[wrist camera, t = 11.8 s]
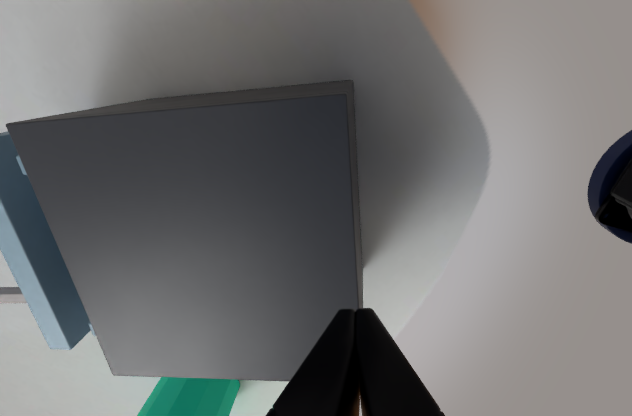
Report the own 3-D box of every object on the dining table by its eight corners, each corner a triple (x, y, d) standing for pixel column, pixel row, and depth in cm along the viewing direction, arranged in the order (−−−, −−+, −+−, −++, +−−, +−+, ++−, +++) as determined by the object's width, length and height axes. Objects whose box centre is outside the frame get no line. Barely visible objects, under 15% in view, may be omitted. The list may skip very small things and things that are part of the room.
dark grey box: (194, 272, 24) (112, 376, 16) (147, 99, 20) (4, 123, 12) (362, 270, 22) (363, 384, 14) (353, 79, 18) (346, 93, 10)
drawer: (65, 274, 24) (-37, 347, 18) (-1, 124, 20) (-160, 152, 14) (282, 271, 22) (251, 354, 16) (256, 101, 18) (201, 122, 12)
